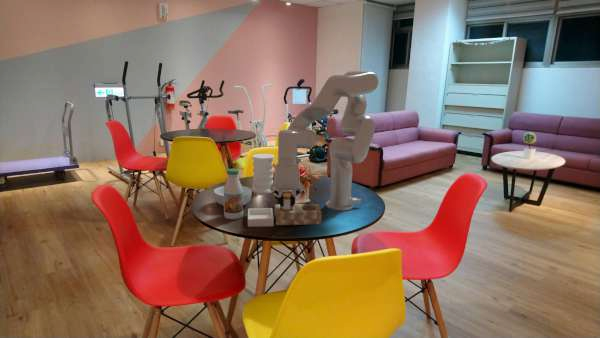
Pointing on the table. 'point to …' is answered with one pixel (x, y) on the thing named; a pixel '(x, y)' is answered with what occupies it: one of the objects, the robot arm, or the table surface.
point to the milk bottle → (233, 196)
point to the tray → (260, 217)
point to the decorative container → (262, 173)
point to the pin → (286, 200)
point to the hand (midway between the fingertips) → (286, 205)
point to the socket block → (298, 215)
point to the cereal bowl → (220, 195)
